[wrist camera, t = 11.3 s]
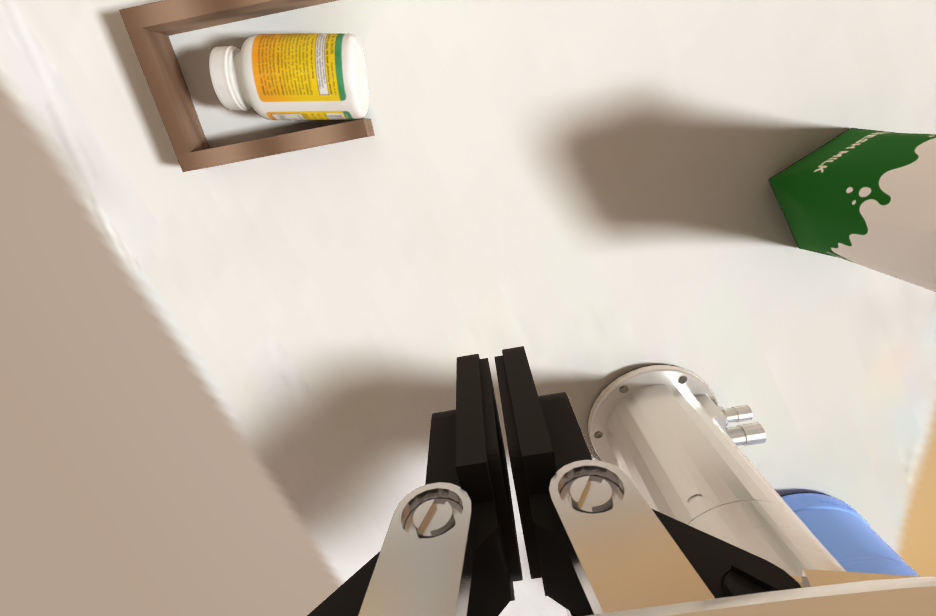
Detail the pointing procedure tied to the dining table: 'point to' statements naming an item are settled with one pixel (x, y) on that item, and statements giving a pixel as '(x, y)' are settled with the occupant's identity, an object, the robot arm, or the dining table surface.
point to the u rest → (186, 9)
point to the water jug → (846, 535)
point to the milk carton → (867, 202)
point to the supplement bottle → (293, 76)
